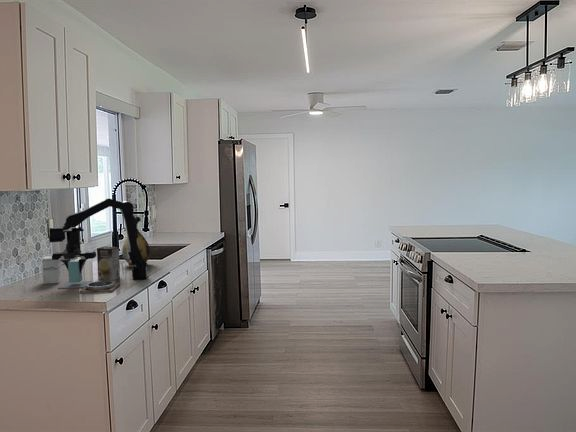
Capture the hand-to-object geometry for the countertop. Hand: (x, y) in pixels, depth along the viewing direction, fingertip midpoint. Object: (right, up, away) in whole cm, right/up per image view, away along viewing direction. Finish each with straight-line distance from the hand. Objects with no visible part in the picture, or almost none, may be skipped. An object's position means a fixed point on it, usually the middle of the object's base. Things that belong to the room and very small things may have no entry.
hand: (75, 273), depth 220 cm
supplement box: (-15, -6, +8) cm, 18 cm away
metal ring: (+15, -7, -7) cm, 18 cm away
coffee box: (+10, -5, +15) cm, 19 cm away
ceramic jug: (+14, -2, +46) cm, 48 cm away
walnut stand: (+15, -7, -7) cm, 18 cm away
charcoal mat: (0, -6, +1) cm, 6 cm away
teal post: (0, -4, 0) cm, 4 cm away
